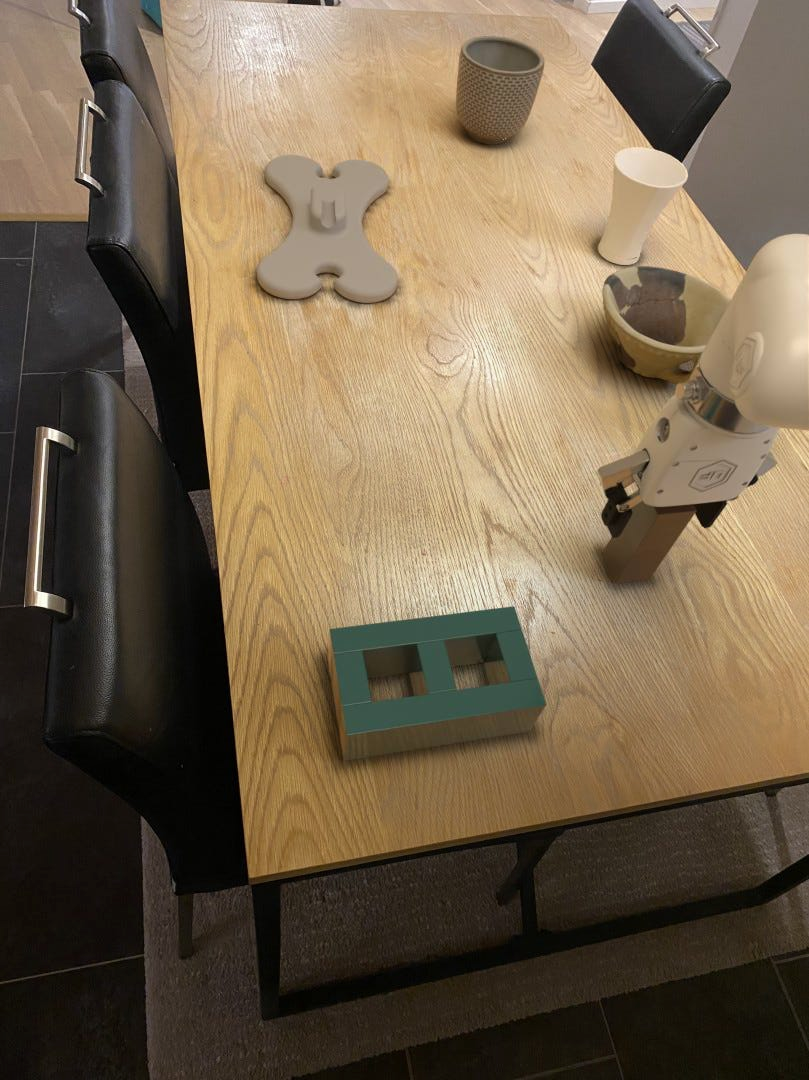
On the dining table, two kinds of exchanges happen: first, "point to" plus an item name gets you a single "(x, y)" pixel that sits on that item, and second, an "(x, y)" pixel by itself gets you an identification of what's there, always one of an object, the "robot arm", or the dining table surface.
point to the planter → (496, 86)
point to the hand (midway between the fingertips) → (655, 521)
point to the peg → (645, 541)
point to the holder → (327, 231)
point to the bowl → (661, 319)
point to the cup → (638, 200)
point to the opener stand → (432, 682)
